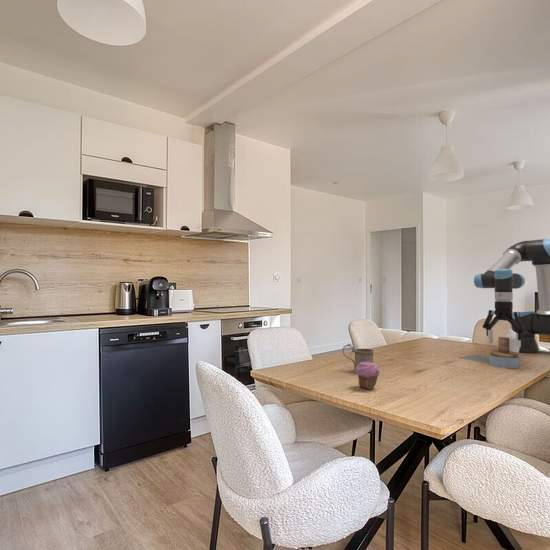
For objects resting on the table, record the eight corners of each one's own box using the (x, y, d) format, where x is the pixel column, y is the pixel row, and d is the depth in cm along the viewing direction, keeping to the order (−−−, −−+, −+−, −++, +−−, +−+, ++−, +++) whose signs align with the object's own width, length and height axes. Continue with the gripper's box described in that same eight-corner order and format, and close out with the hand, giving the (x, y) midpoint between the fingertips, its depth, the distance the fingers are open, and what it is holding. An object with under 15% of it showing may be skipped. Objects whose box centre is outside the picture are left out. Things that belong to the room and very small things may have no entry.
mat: (474, 355, 213) (474, 355, 213) (499, 360, 200) (499, 359, 200) (457, 358, 206) (457, 357, 206) (482, 363, 194) (482, 362, 194)
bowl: (499, 362, 196) (499, 352, 196) (525, 367, 185) (524, 356, 185) (483, 364, 190) (483, 354, 190) (509, 369, 179) (509, 358, 179)
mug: (375, 370, 178) (375, 343, 178) (375, 375, 168) (375, 347, 168) (343, 368, 182) (343, 342, 182) (341, 372, 172) (341, 345, 172)
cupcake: (351, 387, 148) (351, 361, 148) (363, 383, 154) (363, 358, 154) (371, 392, 141) (371, 365, 141) (384, 388, 147) (384, 361, 148)
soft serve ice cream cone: (516, 357, 207) (516, 327, 208) (525, 361, 199) (524, 329, 199) (500, 357, 208) (499, 327, 208) (507, 360, 200) (507, 329, 200)
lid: (499, 352, 195) (499, 335, 195) (524, 356, 185) (524, 338, 185) (484, 354, 190) (484, 337, 190) (509, 358, 179) (508, 340, 179)
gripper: (474, 300, 197) (475, 342, 197) (525, 302, 175) (526, 349, 175) (484, 299, 201) (484, 341, 200) (535, 301, 178) (535, 348, 178)
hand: (503, 345), depth 187 cm, fingers open, 13 cm apart
